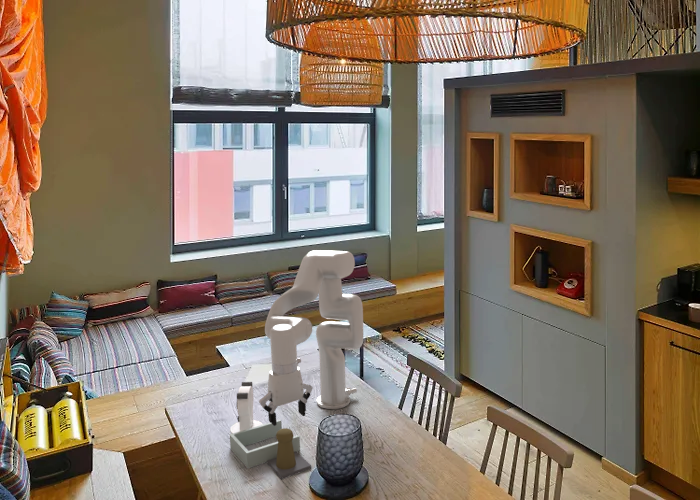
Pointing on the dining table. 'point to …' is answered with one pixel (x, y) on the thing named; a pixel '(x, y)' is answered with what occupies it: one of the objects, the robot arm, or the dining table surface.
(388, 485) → the dining table surface
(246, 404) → the white upright piece
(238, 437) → the box
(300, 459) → the charcoal mat
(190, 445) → the dining table surface
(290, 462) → the cork
